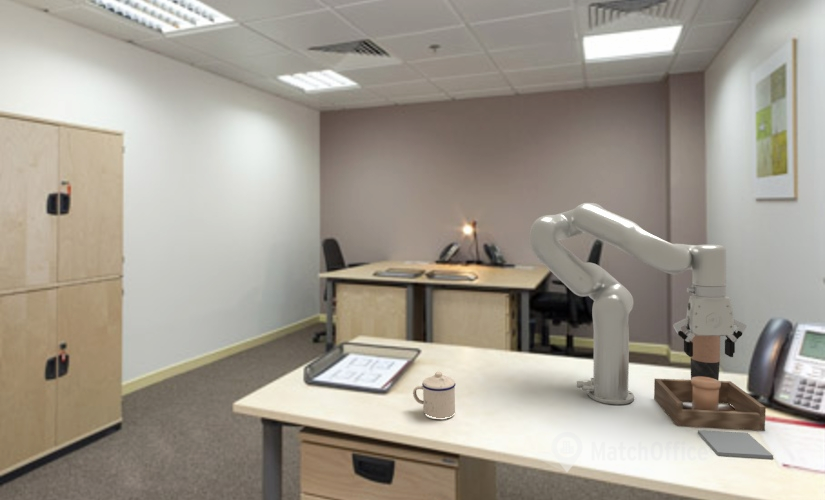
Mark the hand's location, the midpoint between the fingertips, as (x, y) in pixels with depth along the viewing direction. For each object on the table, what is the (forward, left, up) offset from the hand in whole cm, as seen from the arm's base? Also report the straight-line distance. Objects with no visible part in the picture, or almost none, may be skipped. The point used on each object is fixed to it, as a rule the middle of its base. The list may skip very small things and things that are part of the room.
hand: (708, 355), depth 127 cm
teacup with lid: (-73, -9, -16) cm, 75 cm away
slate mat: (-2, -18, -16) cm, 24 cm away
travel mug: (+7, +21, -16) cm, 28 cm away
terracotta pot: (-1, 0, -16) cm, 16 cm away
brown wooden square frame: (-1, 0, -16) cm, 16 cm away
